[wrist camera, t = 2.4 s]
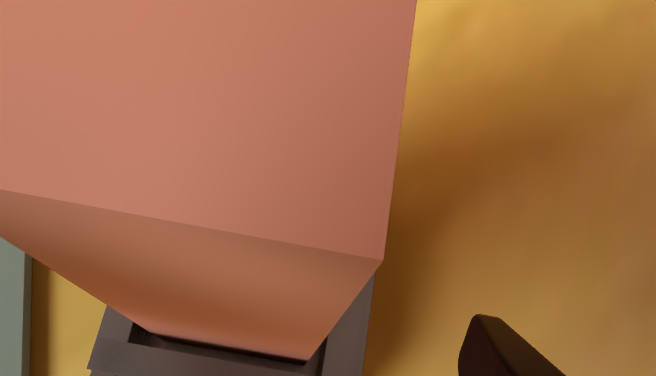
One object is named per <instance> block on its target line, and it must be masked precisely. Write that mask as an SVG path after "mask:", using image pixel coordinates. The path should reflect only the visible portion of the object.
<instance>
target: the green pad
mask: <svg viewBox="0 0 656 376" xmlns="http://www.w3.org/2000/svg"><path fill="white" fill-rule="evenodd" d="M31 291H32V257H31V256H30V255H28V254H27V253H25V252H23V251H22V250H20V249H19V248H17V247H16V246H14V245H12V244H11V243H9V242H8V241H6V240H5V239H3V238H1V237H0V376H30V334H31Z"/></svg>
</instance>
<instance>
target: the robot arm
mask: <svg viewBox="0 0 656 376" xmlns="http://www.w3.org/2000/svg"><path fill="white" fill-rule="evenodd" d="M458 374H459V376H566V375H564V374H563V373H562V372H561V371H560V370H559V369H558V368H556V367H555V366H554V365H553V364H552V363H551V362H550V361H548V360H547V359H546V358H545V357H544V356H543V355H542V354H540V353H539V352H538V351H537V350H536V349H535V348H534V347H532V346H531V345H530V344H529V343H528V342H527V341H526V340H524V339H523V338H522V337H521V336H520V335H519V334H518V333H516V332H515V331H514V330H513V329H512V328H511V327H510V326H508V325H507V324H506V323H505V322H504V321H503V320H501V319H500V318H498V317H493V316H488V315H482V314H476V315H475V316H474V317H473V318H472V320H471V322H470V325H469V327H468V330H467V333H466V336H465V339H464V342H463V345H462V347H461V350H460V354H459V359H458Z"/></svg>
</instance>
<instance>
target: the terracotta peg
mask: <svg viewBox="0 0 656 376" xmlns="http://www.w3.org/2000/svg"><path fill="white" fill-rule="evenodd" d="M416 4H417V0H0V237H1V238H3V239H5V240H6V241H8V242H9V243H11V244H12V245H14V246H16V247H17V248H19V249H20V250H22V251H23V252H25V253H27V254H28V255H30V256H31V257H33V258H34V259H36V260H38V261H39V262H41V263H42V264H44V265H45V266H47V267H49V268H50V269H52V270H53V271H55V272H56V273H58V274H59V275H61V276H63V277H64V278H66V279H67V280H69V281H70V282H72V283H74V284H75V285H77V286H78V287H80V288H81V289H83V290H85V291H86V292H88V293H89V294H91V295H92V296H94V297H96V298H97V299H99V300H100V301H102V302H103V303H105V304H107V305H108V306H110V307H111V308H113V309H114V310H116V311H118V312H119V313H121V314H122V315H124V316H125V317H127V318H129V319H130V320H132V321H133V322H135V323H136V324H138V325H139V326H141V327H143V328H144V329H146V330H147V331H149V332H150V333H152V334H154V335H155V336H157V337H158V338H160V339H161V340H163V341H169V342H174V343H180V344H185V345H191V346H196V347H202V348H208V349H213V350H219V351H224V352H230V353H235V354H241V355H246V356H252V357H257V358H263V359H268V360H274V361H280V362H285V363H291V364H296V365H302V366H305V364H306V363H307V362H308V360H309V359H310V358H311V356H312V355H313V354H314V352H315V351H316V350H317V348H318V347H319V346H320V344H321V343H322V342H323V340H324V339H325V338H326V336H327V335H328V334H329V332H330V331H331V330H332V328H333V327H334V326H335V324H336V323H337V322H338V320H339V319H340V318H341V316H342V315H343V314H344V312H345V311H346V310H347V308H348V307H349V306H350V304H351V303H352V302H353V300H354V299H355V298H356V296H357V295H358V294H359V292H360V291H361V290H362V288H363V287H364V286H365V284H366V283H367V282H368V280H369V279H370V278H371V276H372V275H373V274H374V272H375V271H376V270H377V268H378V267H379V266H380V264H381V263H382V262H383V260H384V252H385V244H386V236H387V229H388V221H389V213H390V205H391V198H392V190H393V182H394V174H395V167H396V159H397V151H398V143H399V136H400V128H401V120H402V112H403V104H404V97H405V89H406V81H407V73H408V66H409V58H410V50H411V42H412V35H413V27H414V19H415V11H416Z"/></svg>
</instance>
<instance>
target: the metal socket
mask: <svg viewBox="0 0 656 376" xmlns="http://www.w3.org/2000/svg"><path fill="white" fill-rule="evenodd" d="M375 273H376V271H375V272H374V274H373V275H372V276H371V278H370V279H369V280H368V282H367V283H366V284H365V286H364V287H363V288H362V290H361V291H360V292H359V294H358V295H357V296H356V298H355V299H354V300H353V302H352V303H351V304H350V306H349V307H348V308H347V310H346V311H345V312H344V314H343V315H342V316H341V318H340V319H339V320H338V322H337V323H336V324H335V326H334V327H333V328H332V330H331V331H330V332H329V334H328V335H327V336H326V338H325V339H324V340H323V342H322V343H321V344H320V346H319V347H318V348H317V350H316V351H315V352H314V354H313V355H312V356H311V358H310V359H309V360H308V362H307V363H306V364H305V366H302V365H296V364H291V363H285V362H280V361H274V360H268V359H263V358H257V357H252V356H246V355H241V354H235V353H230V352H224V351H219V350H213V349H208V348H202V347H196V346H191V345H185V344H180V343H174V342H169V341H163V340H161V339H160V338H158V337H157V336H155V335H154V334H152V333H150V332H149V331H147V330H146V329H144V328H143V327H141V326H139V325H138V324H136V323H135V322H133V321H132V320H130V319H129V318H127V317H125V316H124V315H122V314H121V313H119V312H118V311H116V310H114V309H113V308H111V307H110V306H108V305H107V307H106V310H105V313H104V316H103V319H102V322H101V325H100V329H99V332H98V335H97V338H96V341H95V344H94V348H93V351H92V354H91V357H90V360H89V363H88V366H87V369H90V370H92V371H91V374H90V376H362V370H363V363H364V355H365V348H366V340H367V333H368V325H369V318H370V310H371V303H372V295H373V288H374V280H375Z"/></svg>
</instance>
